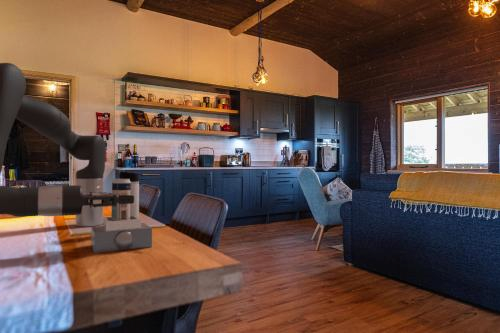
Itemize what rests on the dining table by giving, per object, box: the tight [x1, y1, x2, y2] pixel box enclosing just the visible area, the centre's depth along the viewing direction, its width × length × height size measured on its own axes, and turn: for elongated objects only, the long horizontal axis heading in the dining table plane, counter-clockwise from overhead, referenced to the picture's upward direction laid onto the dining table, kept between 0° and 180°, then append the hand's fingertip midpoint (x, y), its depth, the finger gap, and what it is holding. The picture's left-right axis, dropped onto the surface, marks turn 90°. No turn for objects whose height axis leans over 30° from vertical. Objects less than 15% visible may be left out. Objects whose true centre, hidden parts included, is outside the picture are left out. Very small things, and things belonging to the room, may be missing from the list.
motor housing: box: [90, 215, 153, 254], centre depth 90 cm, size 11×14×8 cm
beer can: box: [111, 178, 131, 221], centre depth 90 cm, size 5×5×12 cm
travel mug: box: [118, 171, 140, 218], centre depth 110 cm, size 6×7×20 cm
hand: (131, 198), depth 91 cm, fingers closed on beer can, 4 cm apart
